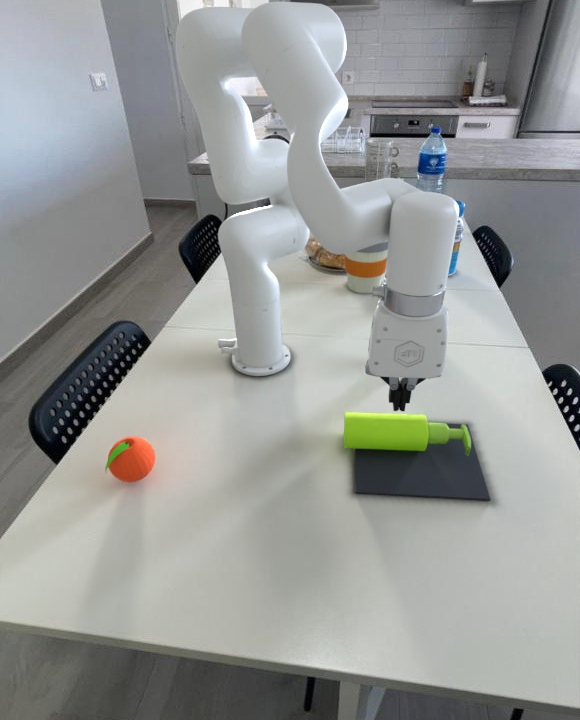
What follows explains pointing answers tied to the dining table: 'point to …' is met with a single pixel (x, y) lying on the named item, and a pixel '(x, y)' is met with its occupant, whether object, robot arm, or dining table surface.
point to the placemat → (422, 471)
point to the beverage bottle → (457, 239)
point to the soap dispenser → (398, 432)
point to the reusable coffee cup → (366, 267)
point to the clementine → (131, 459)
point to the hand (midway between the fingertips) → (398, 405)
